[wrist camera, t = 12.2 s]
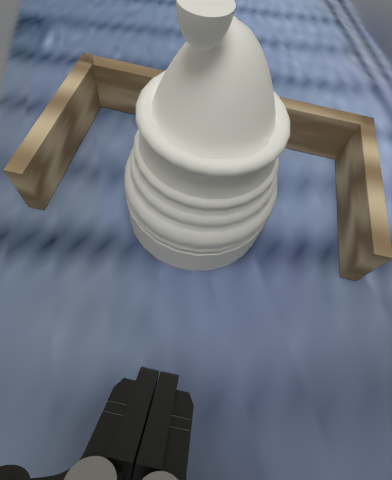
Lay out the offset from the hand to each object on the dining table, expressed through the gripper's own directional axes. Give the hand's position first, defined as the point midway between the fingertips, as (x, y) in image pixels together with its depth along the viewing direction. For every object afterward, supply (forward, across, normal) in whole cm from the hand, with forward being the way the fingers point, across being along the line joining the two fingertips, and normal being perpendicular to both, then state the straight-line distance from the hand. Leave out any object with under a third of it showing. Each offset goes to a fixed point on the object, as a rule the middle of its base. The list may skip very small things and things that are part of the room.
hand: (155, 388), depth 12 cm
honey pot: (+20, +1, -3) cm, 20 cm away
